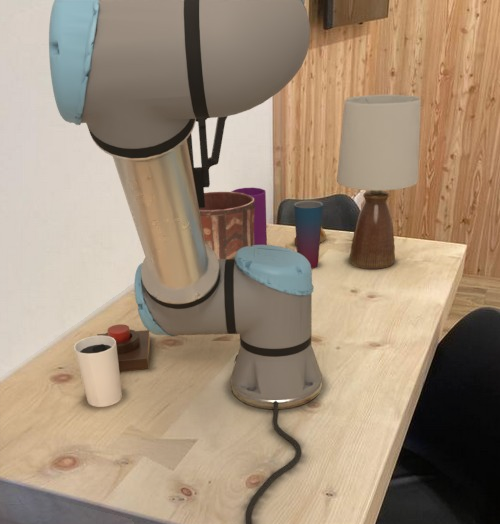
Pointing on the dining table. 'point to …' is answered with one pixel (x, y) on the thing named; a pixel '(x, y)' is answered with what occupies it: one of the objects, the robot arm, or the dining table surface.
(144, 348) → the switch box
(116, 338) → the lamp switch
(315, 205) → the cup
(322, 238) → the pastry
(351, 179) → the lamp
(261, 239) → the mug
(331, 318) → the dining table surface
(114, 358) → the white coffee cup
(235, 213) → the pottery
